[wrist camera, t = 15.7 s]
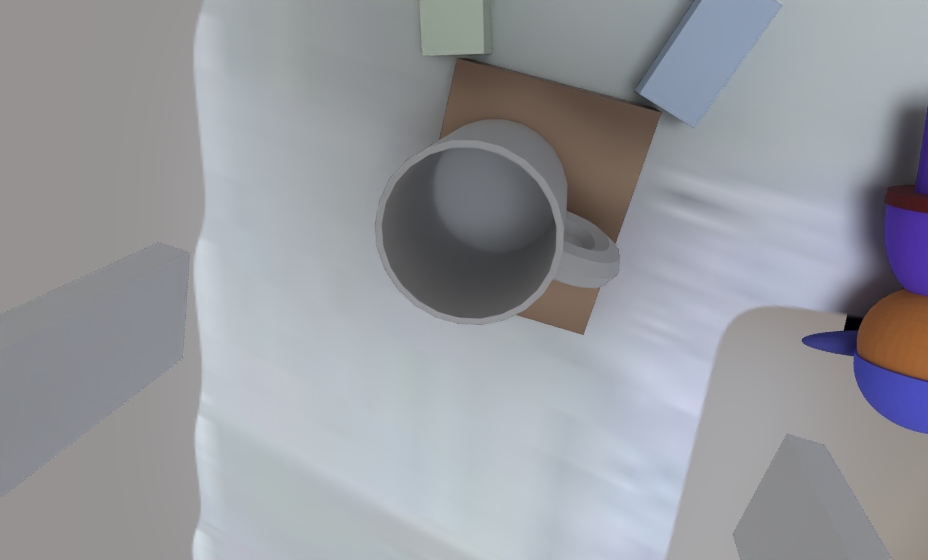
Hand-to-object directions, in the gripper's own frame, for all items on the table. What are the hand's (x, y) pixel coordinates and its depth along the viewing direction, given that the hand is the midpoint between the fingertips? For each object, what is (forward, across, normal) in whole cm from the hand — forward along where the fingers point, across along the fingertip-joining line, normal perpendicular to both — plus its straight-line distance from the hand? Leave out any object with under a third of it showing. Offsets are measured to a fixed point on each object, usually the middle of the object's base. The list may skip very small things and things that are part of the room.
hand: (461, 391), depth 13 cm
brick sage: (+22, -6, +8) cm, 25 cm away
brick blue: (+22, +6, +8) cm, 25 cm away
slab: (+22, 0, -1) cm, 22 cm away
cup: (+20, 0, 0) cm, 20 cm away
